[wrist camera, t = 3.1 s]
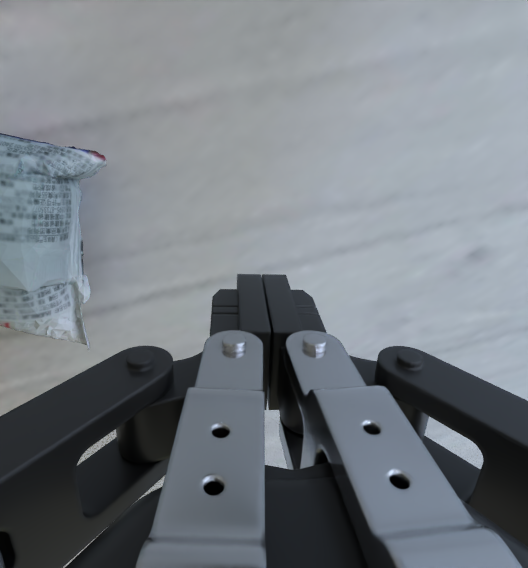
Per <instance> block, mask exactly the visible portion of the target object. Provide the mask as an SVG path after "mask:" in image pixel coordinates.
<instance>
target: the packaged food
mask: <svg viewBox="0 0 528 568" xmlns="http://www.w3.org/2000/svg"><path fill="white" fill-rule="evenodd" d="M104 166H107V165H106V158H105V157H104V156H103V155H100V154H99V153H98V152H96V151H91V150H84V149H76V148H75V147H60V146H55V145H53V144H49V143H46V142H38V141H34V140H29V139H23V138H20V137H15V136H10V135H6V134H2V133H0V325H1V326H4V327H7V328H10V329H14V330H21V331H23V332H25V333H29V334H34V335H38V336H45V337H50V338H54V339H57V338H58V339H61V340H69V341H72V342H77V343H82V344H85V345H87V347H88V351H89V350H90V345H89V341H88V338H87V334H86V330H85V326H84V322H83V318H82V313H81V309H80V307H81V302H82V303H83V304H84V303H85V302H86V301H87V300H88V299H89V297H90V292H91V290H90V287H89V283H88V279H87V276H86V275H83V260H82V256H83V242H82V239H81V230H80V225H79V218H78V210H79V205H80V201H81V197H82V194H81V190H80V188H79V186H78V185H79V180H80V179H82V178H89V177H92V176H93V175H95V174H96V173H98V171H99V170H100V168H102V167H104ZM95 172H96V173H95Z"/></svg>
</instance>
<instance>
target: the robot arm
mask: <svg viewBox="0 0 528 568" xmlns="http://www.w3.org/2000/svg"><path fill="white" fill-rule="evenodd" d="M267 399H268V407H269V410H279V411H280V424H279V436H280V440H281V444H282V448H283V452H284V456H285V460H286V464H287V468H288V469H284V468H279V467H273V466H268V465H265V437H264V410H266V407H267ZM429 416H430V417H431V418H433V419H435V420H437V421H438V422H440V423H442V424H444V425H445V426H447V427H449V428H451V429H452V430H454V431H456V432H458V433H459V434H461V435H463V436H465V437H466V438H468V439H470V440H471V441H473V442H474V443H475V444H476V445H477V446H478V447H479V449H480V450H481V452H482V455H483V460H484V462H483V465H482V468H481V470H480V469H478V468H477V467H475V466H473V465H472V464H470V463H468V462H467V461H465V460H463V459H462V458H460V457H459V456H457V455H455V454H454V453H452V452H450V451H449V450H447V449H445V448H444V447H442V446H441V445H439V444H437V443H436V442H434V441H432V440H431V439H429V438H428V437H426V436H424V433H425V430H426V426H427V422H428V418H429ZM115 429H116V433H117V437H116V438H115V439H114V440H112V441H111V442H109V443H108V444H107V445H105V446H104V447H102V448H101V449H100V450H98V451H97V452H96V453H94V454H93V455H91V456H90V457H89V458H87V459H86V460H84V461H83V462H82V463H80V464H79V465H78V466H77V463H78V461H79V459H80V457H81V456H82V454H83V453H84V452H85V451H86V450H87V449H88V448H89V447H91V446H92V445H93V444H95V443H96V442H98V441H99V440H100V439H102V438H103V437H105V436H106V435H108V434H109V433H110V432H112V431H113V430H115ZM165 474H166V475H165ZM164 475H165V479H164V483H163V487H161V488H159V489H157V490H154V491H152V492H151V493H149V494H147V495H146V496H144V497H142V498H141V499H139V498H140V497H141V496H142V495H143V494H144V493H145V492H147V491H148V490H149V489H150V488H151V487H152V486H153V485H154V484H155V483H157V482H158V481H159V480H160V479H161V478H162V477H163V476H164ZM138 499H139V500H138ZM137 500H138V501H137ZM135 501H137V502H135ZM134 502H135V503H134ZM133 503H134V504H133ZM132 504H133V505H132ZM114 520H115V521H114ZM113 521H114V522H113ZM104 529H105V530H104ZM103 530H104V531H103ZM102 531H103V532H102ZM101 532H102V533H101ZM100 533H101V534H100ZM99 534H100V535H99ZM98 535H99V536H98ZM97 536H98V537H97ZM96 537H97V538H96ZM94 538H96V539H95V540H94V541H93V542H92V543H90V542H91V541H92V540H93V539H94ZM89 543H90V544H89ZM88 544H89V545H88ZM87 545H88V546H87ZM86 546H87V547H86ZM84 547H86V548H85V549H84V550H83V551H82V552H81V553H80V554H79V555H78V556H77V557H76V558H75V559H74V560H73V561H72V562H71V563H70V564H69V565H67V566H66V567H65V568H528V401H527V400H525V399H522V398H520V397H518V396H516V395H514V394H512V393H510V392H508V391H505V390H503V389H501V388H499V387H497V386H495V385H493V384H491V383H488V382H486V381H484V380H482V379H480V378H478V377H476V376H474V375H472V374H469V373H467V372H465V371H463V370H461V369H459V368H457V367H455V366H452V365H450V364H448V363H446V362H444V361H442V360H440V359H438V358H436V357H433V356H431V355H429V354H427V353H425V352H423V351H420V350H418V349H414V348H410V347H404V346H393V347H388V348H385V349H383V350H382V351H380V353H379V355H378V360H377V362H376V361H371V360H366V359H360V358H356V357H352V356H349V355H348V353H347V352H346V350H345V348H344V347H343V345H342V343H341V342H340V341H339V340H338V339H337V338H335V337H334V336H332V335H330V334H327V332H326V330H325V328H324V325H323V323H322V320H321V318H320V315H319V313H318V310H317V308H316V306H315V303H314V301H313V298H312V297H311V296H310V295H308V294H307V293H306V292H304V291H303V290H291V289H290V286H289V283H288V280H287V277H286V275H265V274H263V275H262V278H261V275H260V274H237V289H220V290H219V291H218V292H217V293H216V294H215V295H214V296H213V300H212V314H211V327H210V337H209V338H208V339H207V340H206V342H205V345H204V349H203V351H202V352H201V353H199V354H198V355H196V356H193V357H190V358H187V359H183V360H178V361H173V358H172V356H171V354H170V353H169V352H168V351H166V350H164V349H162V348H159V347H154V346H138V347H133V348H129V349H126V350H123V351H121V352H119V353H117V354H115V355H113V356H112V357H110V358H108V359H106V360H104V361H102V362H100V363H99V364H97V365H95V366H93V367H91V368H89V369H87V370H86V371H84V372H82V373H80V374H78V375H76V376H74V377H73V378H71V379H69V380H67V381H65V382H63V383H62V384H60V385H58V386H56V387H54V388H52V389H50V390H49V391H47V392H45V393H43V394H41V395H39V396H37V397H36V398H34V399H32V400H30V401H28V402H26V403H24V404H23V405H21V406H19V407H17V408H15V409H13V410H11V411H10V412H8V413H6V414H4V415H2V416H0V568H62V567H63V566H64V565H66V564H67V563H68V562H69V561H70V560H71V559H72V558H73V557H74V556H76V555H77V554H78V553H79V552H80V551H81V550H82V549H83V548H84Z"/></svg>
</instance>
